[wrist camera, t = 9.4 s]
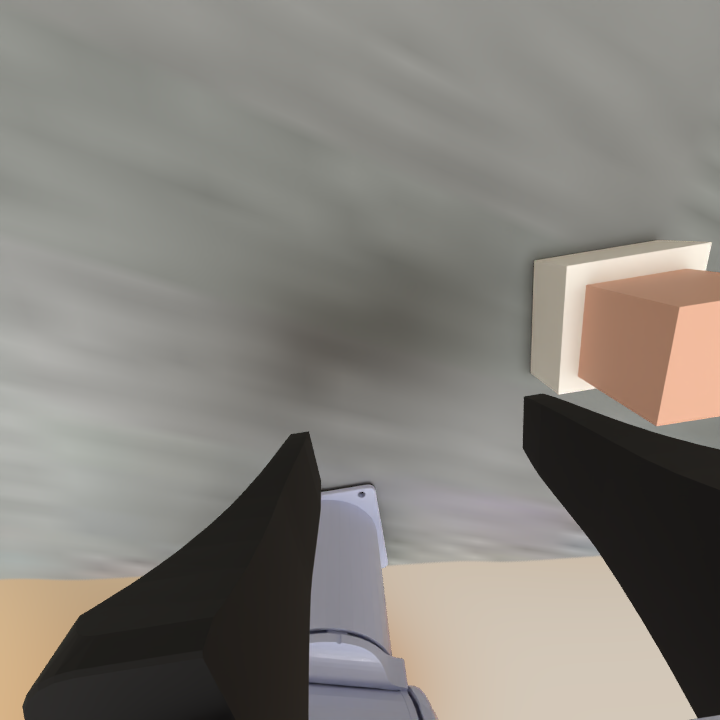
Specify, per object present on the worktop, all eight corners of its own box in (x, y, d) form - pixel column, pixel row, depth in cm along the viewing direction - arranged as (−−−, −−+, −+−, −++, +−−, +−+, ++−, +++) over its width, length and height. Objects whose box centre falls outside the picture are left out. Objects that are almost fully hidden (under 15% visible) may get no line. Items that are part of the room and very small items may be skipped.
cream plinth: (530, 373, 22) (558, 394, 19) (534, 260, 19) (566, 266, 16) (639, 355, 22) (683, 374, 19) (657, 239, 19) (711, 242, 16)
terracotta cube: (577, 376, 19) (656, 426, 14) (586, 284, 17) (679, 307, 12) (669, 361, 19) (777, 407, 14) (687, 268, 17) (819, 284, 12)
